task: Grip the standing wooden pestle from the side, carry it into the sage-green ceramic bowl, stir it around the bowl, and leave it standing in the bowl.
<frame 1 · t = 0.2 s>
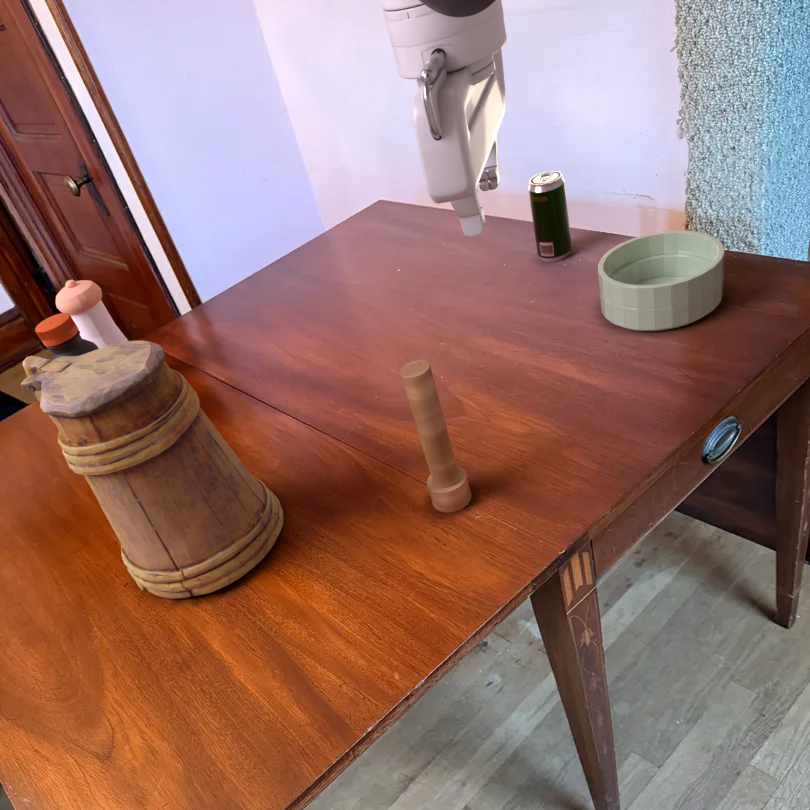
hand: (483, 208, 68), 28 cm above the table, tool pointing down, fingers open, 8 cm apart
bottle: (128, 443, 112), on the table
beer can: (555, 256, 120), on the table
tankard: (196, 543, 90), on the table
wooden pestle: (452, 499, 83), on the table
pepper shaker: (133, 389, 124), on the table
bowl: (660, 303, 101), on the table
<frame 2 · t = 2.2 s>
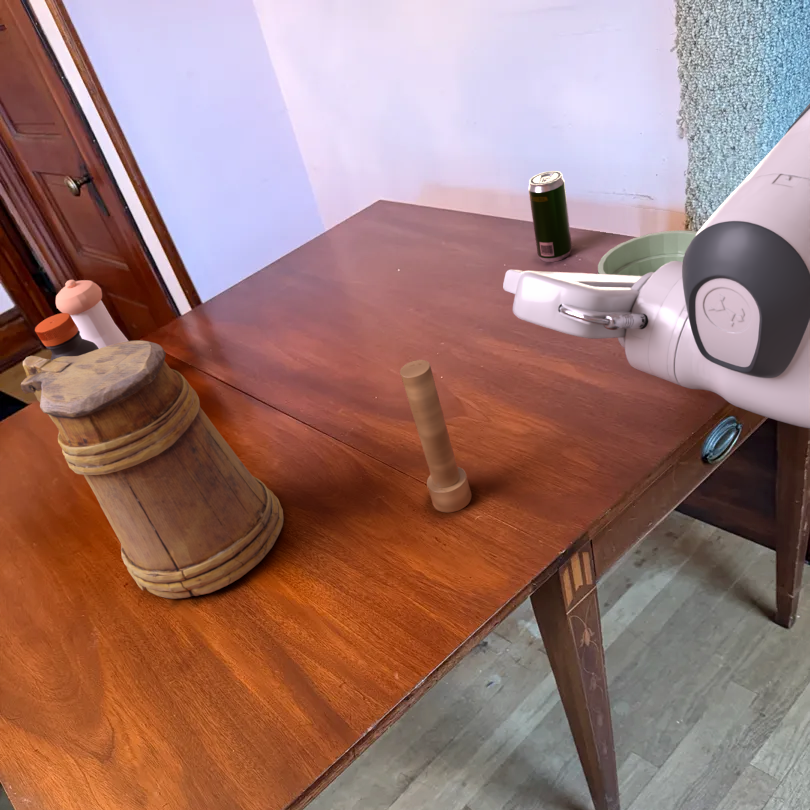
hand: (542, 280, 68), 21 cm above the table, tool horizontal, fingers open, 8 cm apart
nothing on the table moved.
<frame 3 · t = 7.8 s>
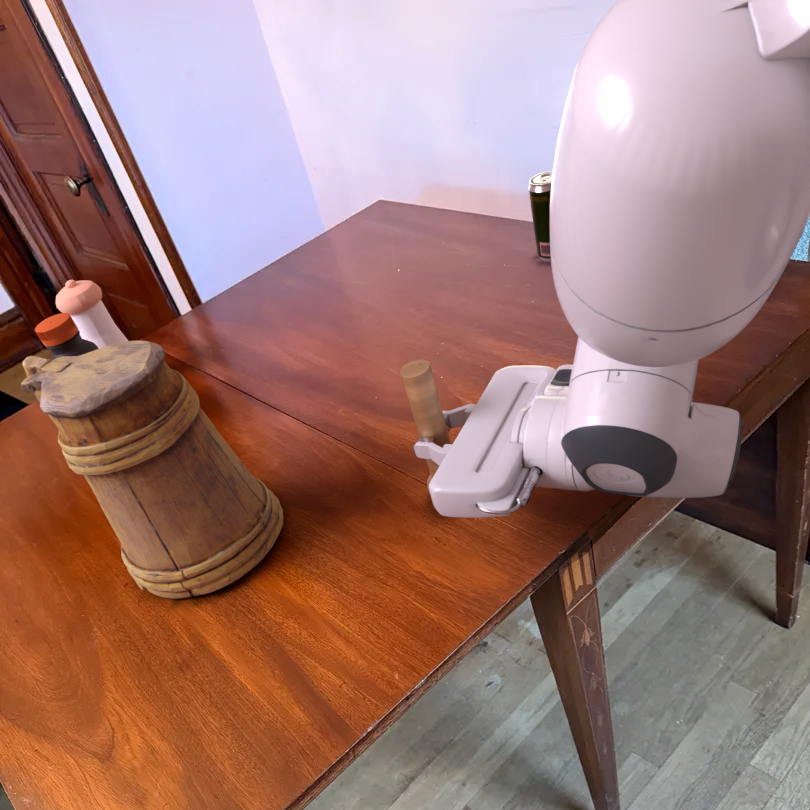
hand: (426, 433, 77), 9 cm above the table, tool horizontal, fingers closed on wooden pestle, 3 cm apart
wooden pestle: (452, 499, 83), on the table, touching gripper
everything else where it was.
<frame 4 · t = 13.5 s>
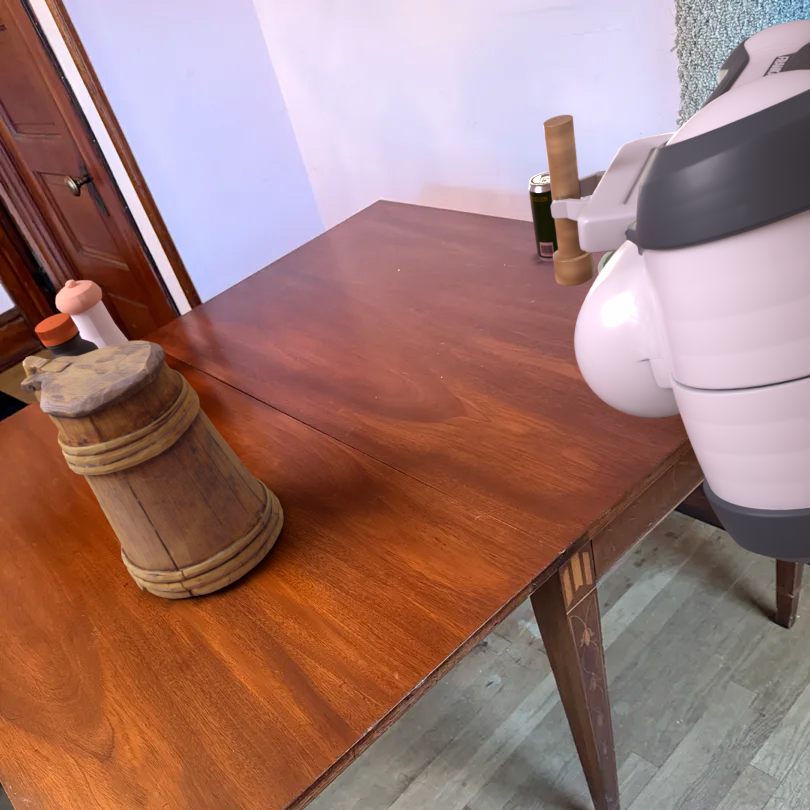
hand: (558, 199, 82), 21 cm above the table, tool horizontal, fingers closed on wooden pestle, 3 cm apart
wooden pestle: (574, 277, 87), point 12 cm above the table, touching gripper
everything else where it was.
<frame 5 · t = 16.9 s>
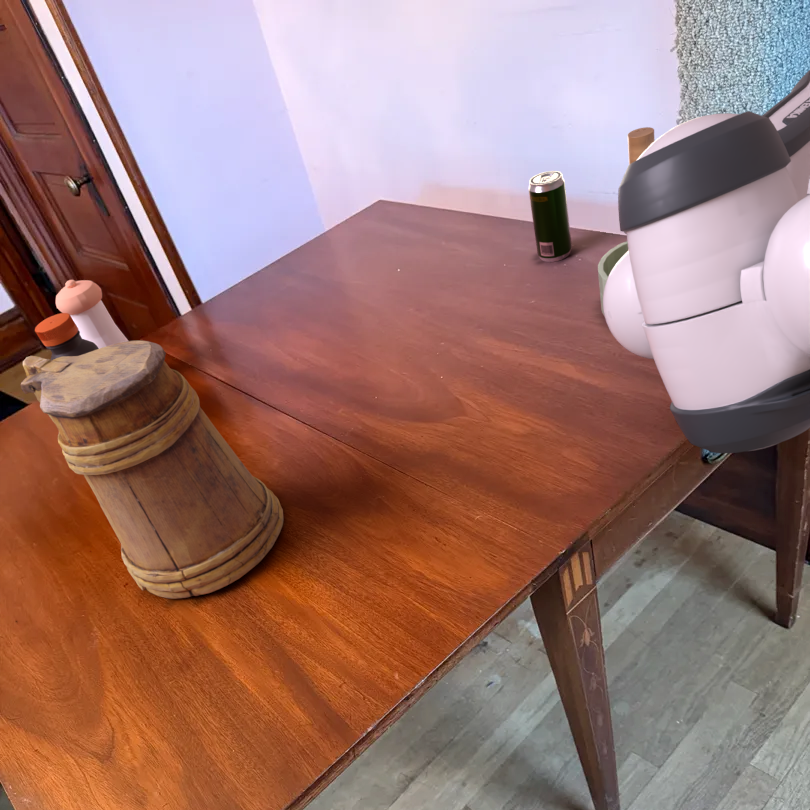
hand: (636, 200, 94), 14 cm above the table, tool horizontal, fingers closed on wooden pestle, 3 cm apart
wooden pestle: (646, 268, 99), point 5 cm above the table, touching gripper
everything else where it was.
when the fingers open (10 cm above the table, at t = 19.6 s): wooden pestle stays where it is, resting on bowl.
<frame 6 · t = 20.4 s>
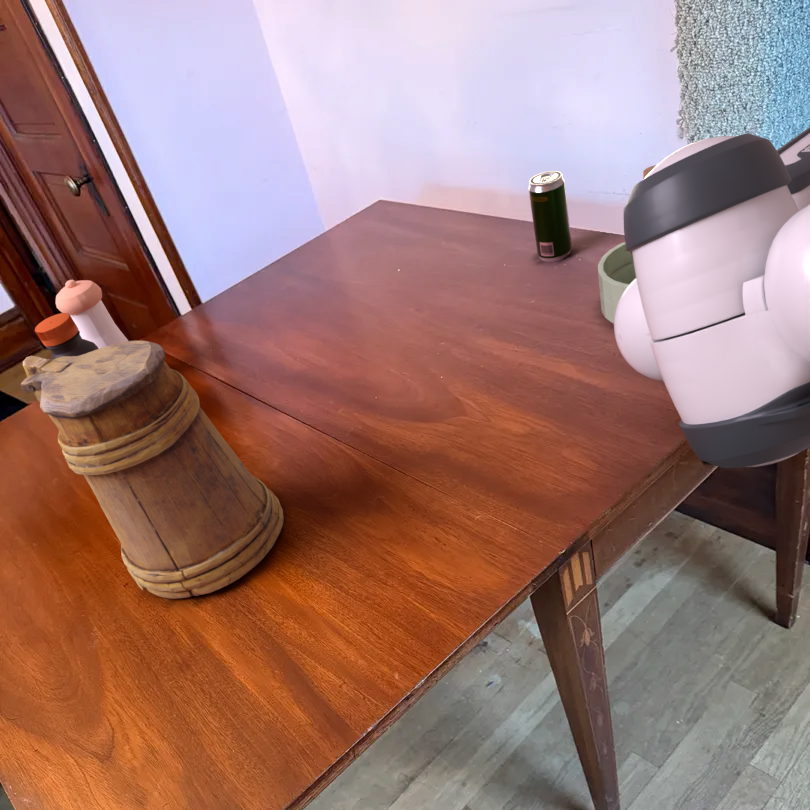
hand: (651, 232, 95), 10 cm above the table, tool horizontal, fingers open, 8 cm apart
wooden pestle: (659, 300, 100), point 1 cm above the table, touching bowl
everything else where it was.
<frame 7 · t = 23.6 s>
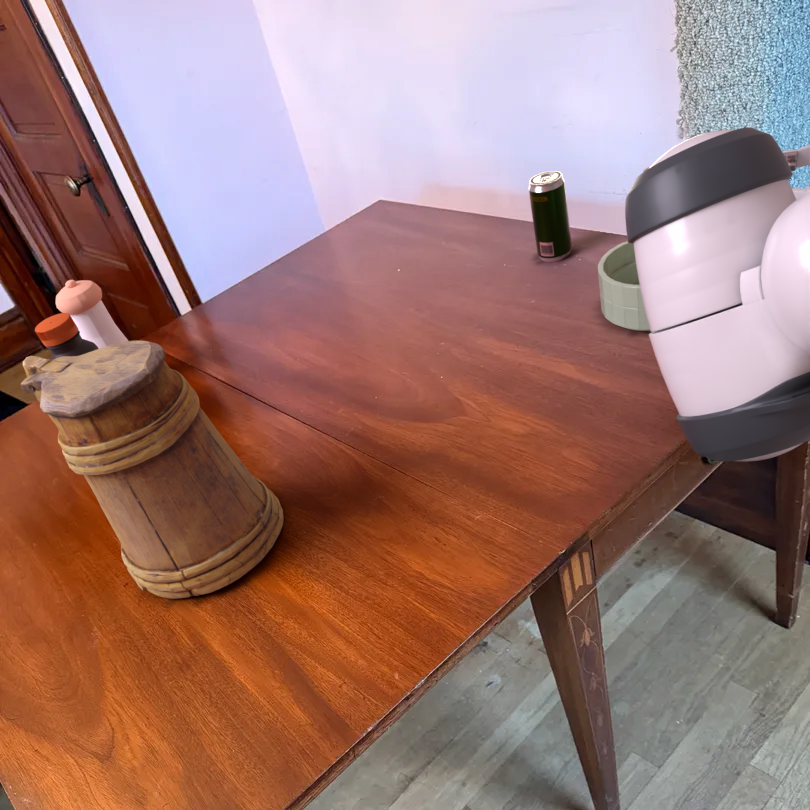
hand: (774, 179, 82), 16 cm above the table, tool horizontal, fingers open, 8 cm apart
nothing on the table moved.
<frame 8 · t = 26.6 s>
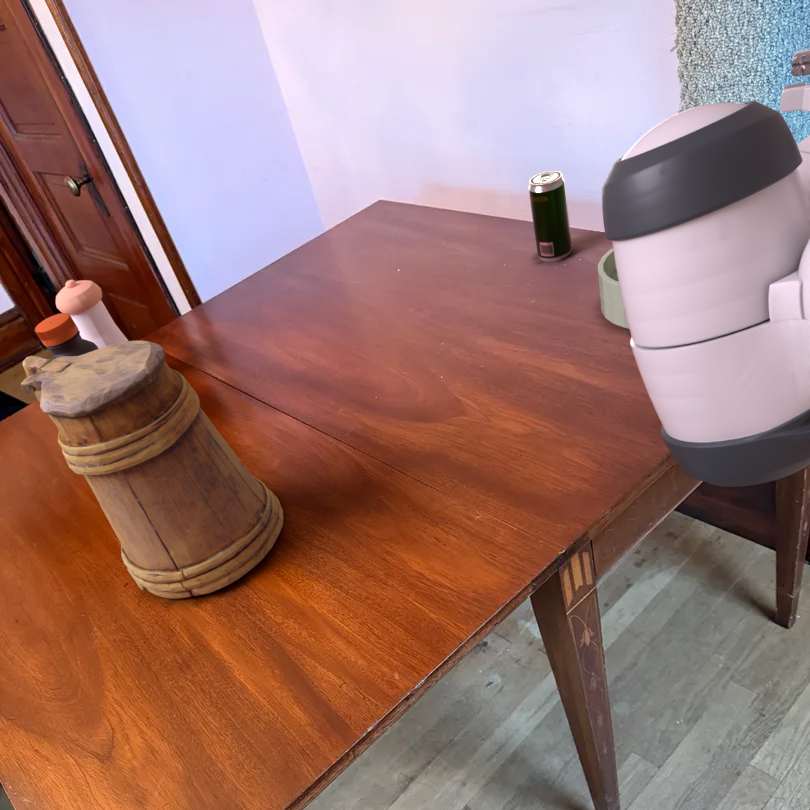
hand: (786, 81, 70), 28 cm above the table, tool horizontal, fingers open, 8 cm apart
nothing on the table moved.
at the end: wooden pestle inside the target area in the bowl (0.1 cm from its centre), point 0.6 cm above the bowl's base; the gripper is holding nothing; wooden pestle tilted 0° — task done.
